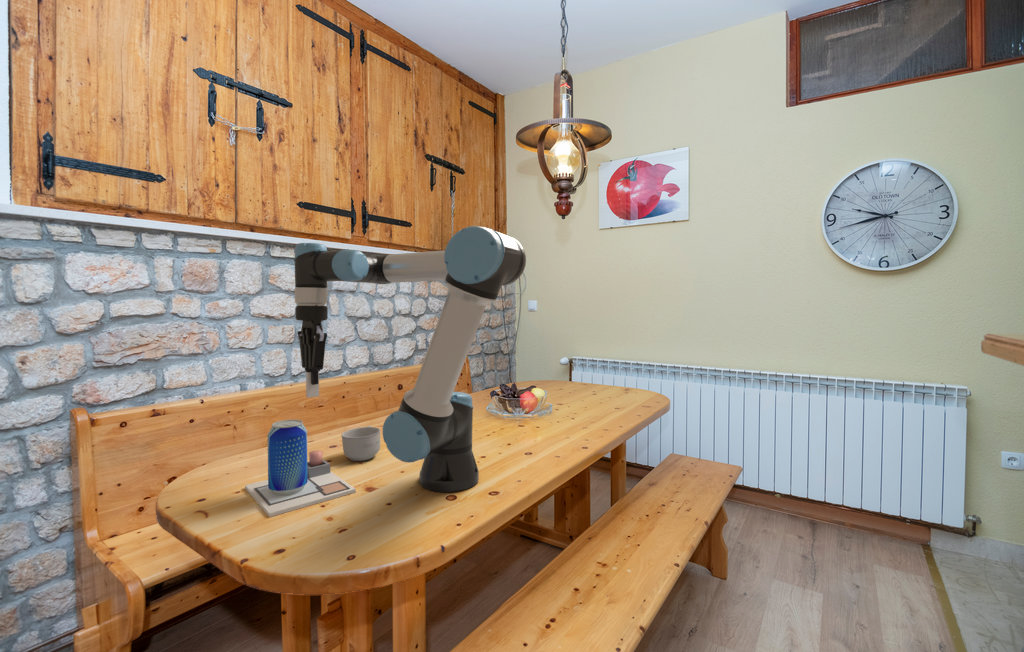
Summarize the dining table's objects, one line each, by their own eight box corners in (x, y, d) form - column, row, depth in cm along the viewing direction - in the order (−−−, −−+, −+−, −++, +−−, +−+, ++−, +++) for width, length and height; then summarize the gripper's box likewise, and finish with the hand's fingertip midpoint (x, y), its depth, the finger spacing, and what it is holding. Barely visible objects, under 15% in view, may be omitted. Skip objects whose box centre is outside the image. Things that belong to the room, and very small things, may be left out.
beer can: (269, 499, 102) (268, 429, 101) (267, 486, 109) (266, 421, 109) (309, 492, 106) (308, 425, 105) (305, 479, 114) (305, 417, 113)
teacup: (368, 465, 127) (368, 437, 126) (333, 462, 129) (333, 434, 128) (391, 450, 140) (391, 424, 140) (359, 447, 142) (359, 422, 142)
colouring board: (355, 492, 109) (355, 479, 109) (269, 517, 96) (269, 502, 96) (323, 469, 123) (323, 457, 123) (244, 488, 110) (244, 475, 110)
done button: (324, 463, 119) (324, 452, 118) (311, 466, 116) (311, 455, 116) (319, 460, 121) (319, 449, 121) (307, 463, 119) (307, 452, 119)
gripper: (337, 305, 113) (338, 398, 114) (316, 304, 122) (317, 391, 124) (306, 305, 108) (307, 402, 109) (286, 304, 117) (288, 394, 118)
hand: (312, 396), depth 116 cm, fingers closed
